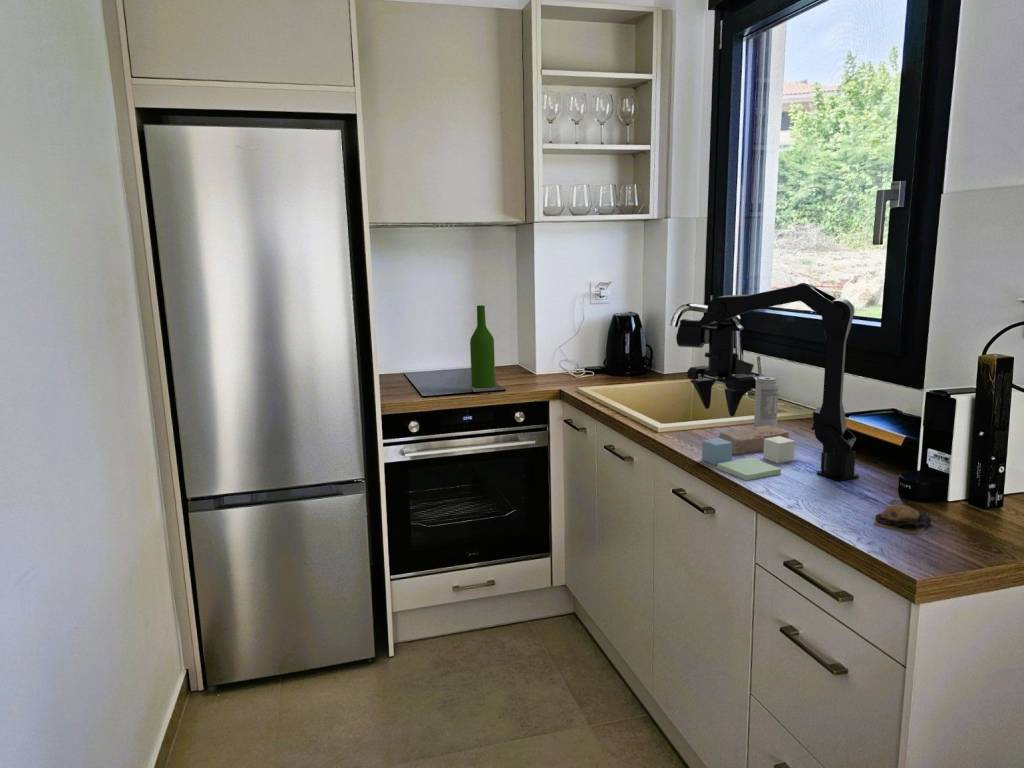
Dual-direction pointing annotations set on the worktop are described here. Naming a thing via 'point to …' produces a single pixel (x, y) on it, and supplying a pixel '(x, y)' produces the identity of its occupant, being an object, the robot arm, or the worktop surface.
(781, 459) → the cream block
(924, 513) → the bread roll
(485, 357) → the wine bottle
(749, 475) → the green block
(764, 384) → the energy drink can
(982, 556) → the worktop surface
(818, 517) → the worktop surface
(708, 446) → the blue block
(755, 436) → the brick
